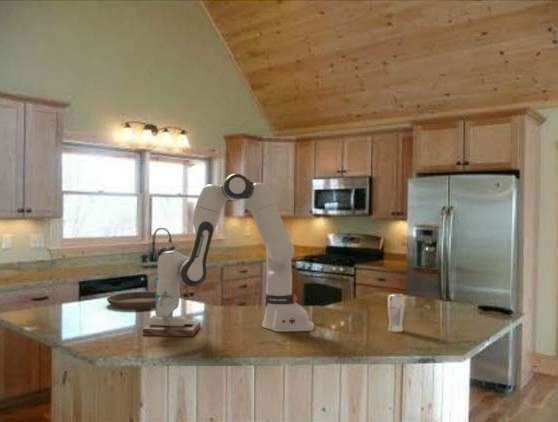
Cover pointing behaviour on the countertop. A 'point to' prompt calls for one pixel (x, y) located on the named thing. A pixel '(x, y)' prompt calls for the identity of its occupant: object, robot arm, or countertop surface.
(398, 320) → the beer glass
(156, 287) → the tube
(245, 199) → the robot arm
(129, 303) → the plant saucer
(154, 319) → the power strip
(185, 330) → the keyhole board
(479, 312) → the countertop surface
